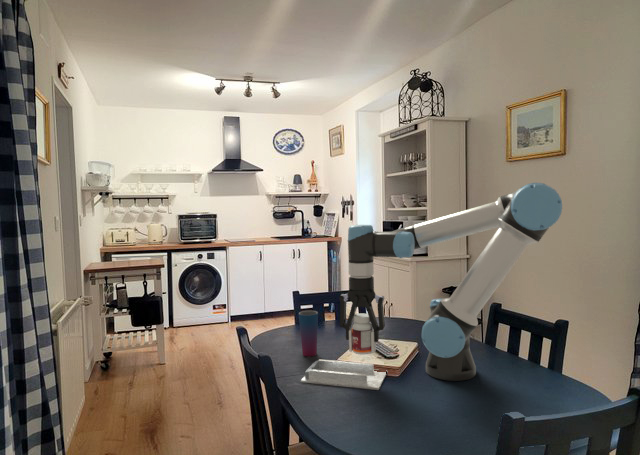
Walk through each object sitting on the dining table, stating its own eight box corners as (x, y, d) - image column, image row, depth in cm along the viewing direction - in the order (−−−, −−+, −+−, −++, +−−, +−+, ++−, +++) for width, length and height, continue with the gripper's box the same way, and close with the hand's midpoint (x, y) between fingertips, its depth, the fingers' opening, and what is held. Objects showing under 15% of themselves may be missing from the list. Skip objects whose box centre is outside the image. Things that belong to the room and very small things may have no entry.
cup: (297, 356, 165) (295, 314, 164) (304, 350, 171) (303, 310, 170) (314, 358, 162) (313, 315, 161) (321, 352, 168) (320, 311, 168)
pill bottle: (349, 350, 143) (348, 314, 143) (366, 347, 146) (366, 311, 145) (358, 356, 138) (357, 318, 137) (376, 353, 140) (375, 316, 139)
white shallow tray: (387, 372, 147) (387, 362, 147) (378, 390, 133) (378, 379, 133) (315, 366, 154) (315, 357, 154) (300, 382, 141) (300, 372, 141)
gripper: (394, 274, 141) (395, 349, 142) (334, 273, 147) (335, 344, 148) (390, 279, 134) (391, 357, 135) (327, 277, 140) (328, 352, 141)
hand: (362, 350), depth 142 cm, fingers closed on pill bottle, 6 cm apart
